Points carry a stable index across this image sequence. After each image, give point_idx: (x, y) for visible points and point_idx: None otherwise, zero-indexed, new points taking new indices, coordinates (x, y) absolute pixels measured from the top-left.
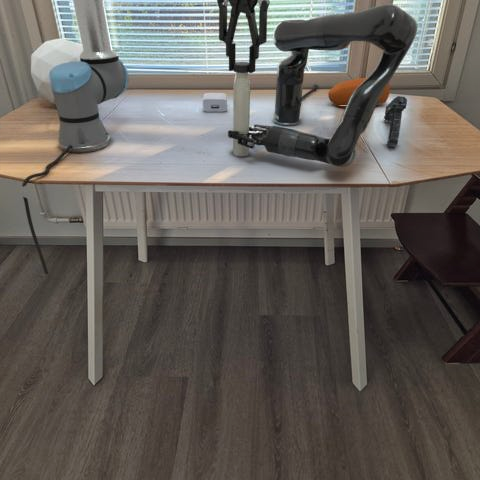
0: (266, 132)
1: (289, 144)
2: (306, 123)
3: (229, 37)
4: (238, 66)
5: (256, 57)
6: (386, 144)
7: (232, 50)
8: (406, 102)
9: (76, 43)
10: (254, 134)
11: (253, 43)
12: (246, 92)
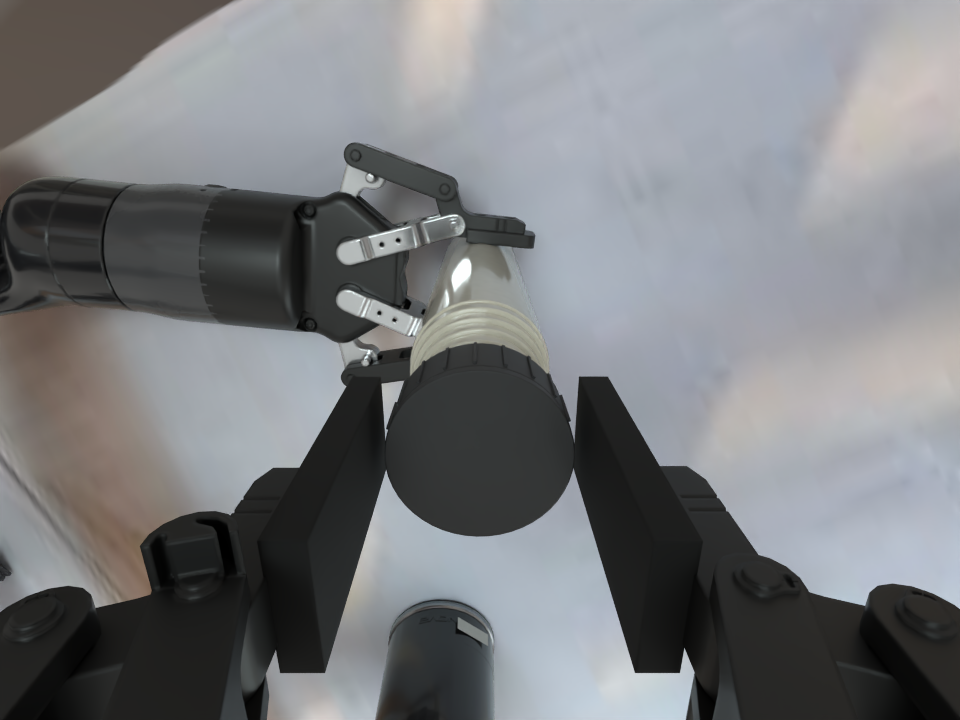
0: (337, 293)
1: (158, 187)
2: (365, 652)
3: (743, 643)
4: (483, 365)
5: (259, 482)
6: (9, 572)
7: (624, 521)
8: None
9: None
10: (376, 232)
11: (214, 586)
12: (423, 322)
